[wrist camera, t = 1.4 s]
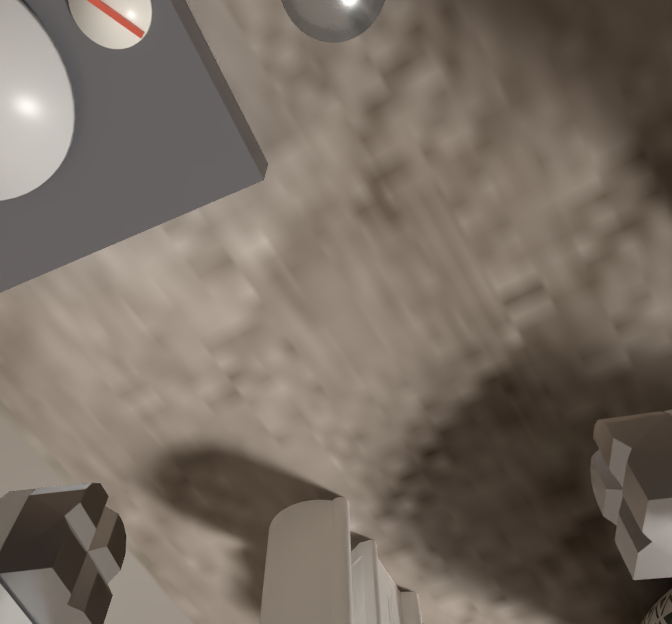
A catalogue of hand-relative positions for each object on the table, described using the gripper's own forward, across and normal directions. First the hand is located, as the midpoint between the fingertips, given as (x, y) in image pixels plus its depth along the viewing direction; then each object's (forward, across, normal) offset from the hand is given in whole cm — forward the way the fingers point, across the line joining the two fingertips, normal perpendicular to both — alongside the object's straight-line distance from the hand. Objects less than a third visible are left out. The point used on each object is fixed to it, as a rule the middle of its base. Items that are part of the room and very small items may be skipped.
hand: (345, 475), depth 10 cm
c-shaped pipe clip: (+26, +5, +44) cm, 51 cm away
